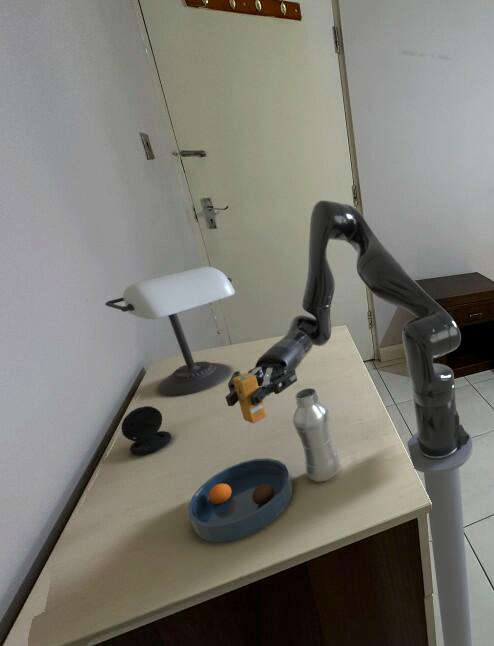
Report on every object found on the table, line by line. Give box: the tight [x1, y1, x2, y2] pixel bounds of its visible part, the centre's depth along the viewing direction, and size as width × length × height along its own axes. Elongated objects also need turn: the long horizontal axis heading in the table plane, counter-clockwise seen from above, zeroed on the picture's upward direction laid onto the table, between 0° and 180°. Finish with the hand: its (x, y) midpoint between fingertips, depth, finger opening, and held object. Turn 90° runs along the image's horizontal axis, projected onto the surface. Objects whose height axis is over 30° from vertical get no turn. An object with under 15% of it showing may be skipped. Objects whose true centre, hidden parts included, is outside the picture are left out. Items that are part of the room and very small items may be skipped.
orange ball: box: [209, 484, 231, 504], centre depth 76 cm, size 4×4×4 cm
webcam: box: [120, 405, 172, 456], centre depth 91 cm, size 8×8×10 cm
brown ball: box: [252, 484, 274, 505], centre depth 75 cm, size 4×4×4 cm
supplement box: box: [233, 372, 267, 424], centre depth 82 cm, size 3×3×10 cm
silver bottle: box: [292, 387, 341, 483], centre depth 79 cm, size 6×7×20 cm
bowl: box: [187, 457, 293, 544], centre depth 75 cm, size 16×16×4 cm
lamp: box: [105, 266, 236, 397], centre depth 112 cm, size 26×24×34 cm
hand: (241, 401), depth 79 cm, fingers closed on supplement box, 4 cm apart
